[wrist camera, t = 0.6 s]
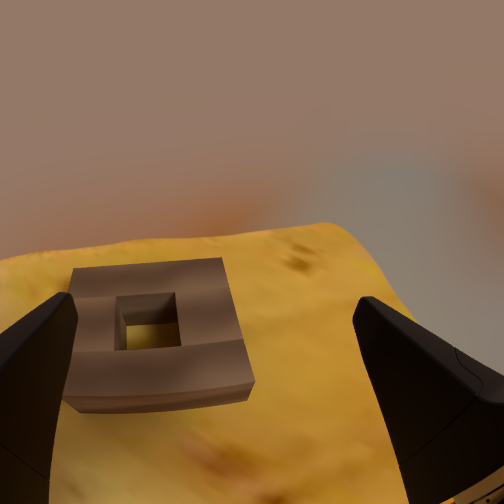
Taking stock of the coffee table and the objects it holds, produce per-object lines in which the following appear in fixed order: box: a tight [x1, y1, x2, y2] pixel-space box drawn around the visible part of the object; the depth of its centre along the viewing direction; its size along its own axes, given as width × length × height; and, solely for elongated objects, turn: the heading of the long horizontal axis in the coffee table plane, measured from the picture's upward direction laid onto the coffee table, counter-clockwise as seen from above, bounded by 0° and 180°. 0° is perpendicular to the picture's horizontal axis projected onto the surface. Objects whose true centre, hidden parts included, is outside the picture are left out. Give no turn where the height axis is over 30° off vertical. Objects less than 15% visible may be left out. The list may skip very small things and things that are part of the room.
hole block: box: [62, 257, 255, 414], centre depth 22 cm, size 12×14×4 cm
